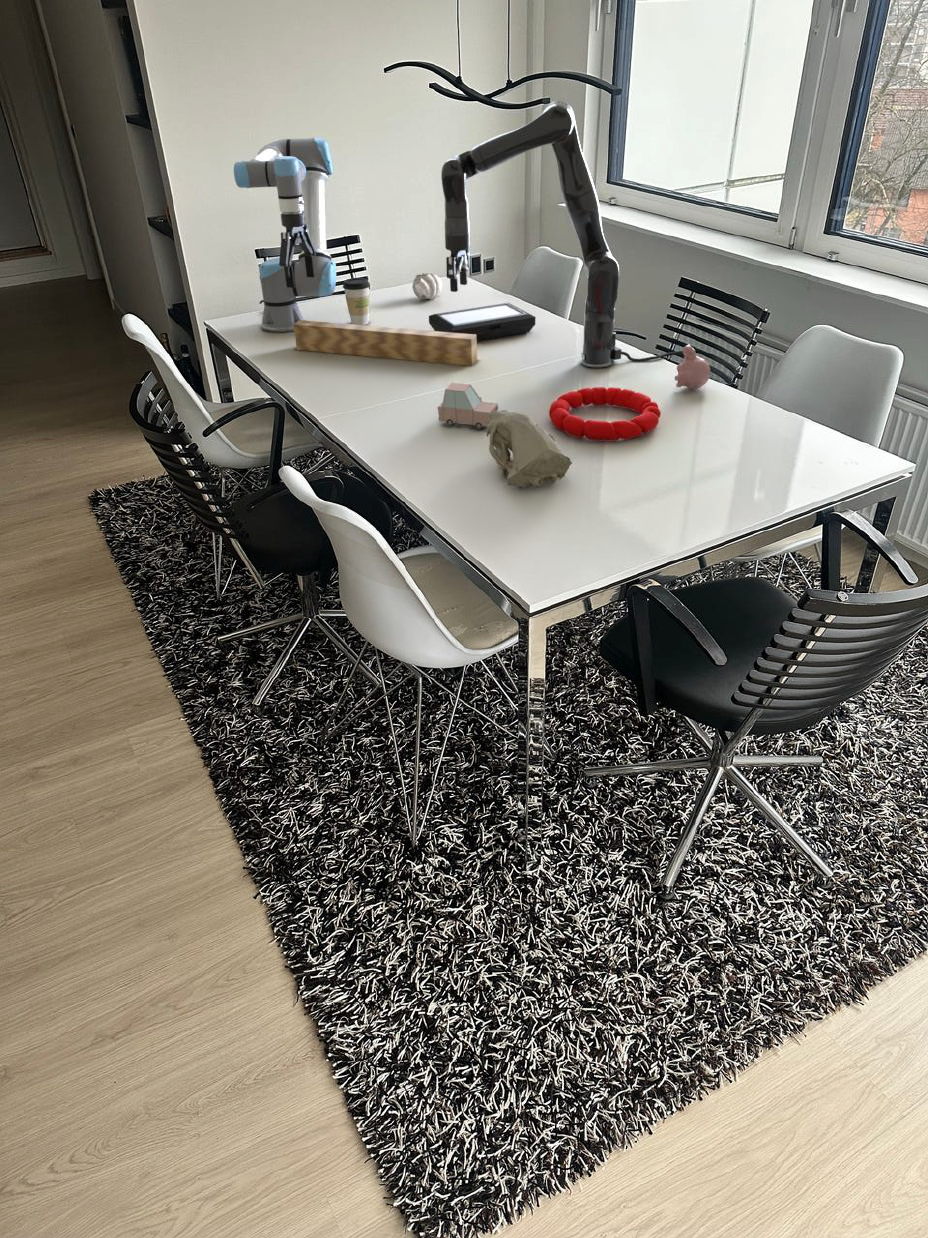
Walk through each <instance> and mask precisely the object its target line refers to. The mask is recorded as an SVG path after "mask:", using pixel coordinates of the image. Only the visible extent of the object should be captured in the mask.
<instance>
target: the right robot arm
mask: <svg viewBox="0 0 928 1238" xmlns="http://www.w3.org/2000/svg"><path fill="white" fill-rule="evenodd" d="M548 145H551V147H552V150H553V152H554V155H555V159H556V164H557V169H558V171H557V172H558V177H559V185H560V190H561V196H562V198H563V203H564V206H565V208H566V211H567V214H568V218H569V220H570V222H571V226H572V228H573V230H574V232H575V234H576V237H577V239H578V242H579V247H580V251H581V255H582V261H583V265H584V271H585V275H586V277H587V291H586V298H585V300H584V314H583V315H584V317H583V337H582V338H583V339H582V352H581V357H580V358H581V364H582V366H584V367H588V368H590V369H591V368H592V369H603V368H607V367H609V366H611V365H613V364H615V361H617V360H621V359H622V355H623V356H625V357H626V358H627V359H628V360H629V361H630V362H635V363H639V362H646V361H653V360H658V359H661V358H664V357H670V356H671V357H672V356H677V355H684V353H683V350H678V351H672V352H665V353H662V354H658V355H654V356H647V357H643V358H635V357H631V355H630V354H629V353H628V352H626V351H622V348H620V347H617V346H616V339H617V333H616V332H615V331H614V329H615V328H614V326H615V313H616V312H615V311H616V303H617V300H618V294H619V293H618V292H619V284H620V283H619V281H620V267H619V264H618V262H617V260H616V259H615V257H614V256H613V255H612V253H611V251H610V249H609V246H608V243H607V241H606V239H605V236H604V233H603V225H602V215H601V209H600V203H599V199H598V195H597V191H596V188H595V184H594V182H593V179H592V175H591V172H590V170H589V167H588V164H587V162H586V159H585V156H584V154H583V152H582V151H583V150H582V148H581V144H580V139H579V134H578V129H577V124H576V117H575V112H574V110H573V108H572V106H571V105H570V104H569V103H567V102H566V101H564V100H561V99H560V100H559V99H558V100H557V99H556V100H553V101H551V102H550V103H548V104H547V105H546V107H545V108H544V110H543V111H542V113H541V114H540V115H538V116H537V117H536V118H534V119H533V120H531V121H529V122H528V123H527V124H525V125H523V126H521V127H519V128H517V129H514V130H512V131H508V132H505V133H502V134H499V135H496V136H494V137H492V138H490V139H488V140H485V141H484V142H482V143H479V144H477V145H476V146H474V147H473V148H472V149H468V150H465V151H464V152H461V153H458V154H456V155H454V156H452V157H450V158H449V159H447V160H446V161H445V162H444V163H443V164H442V167H441V172H440V173H441V175H440V177H441V186H442V192H443V193H442V194H443V197H444V244H445V245H444V246H445V247H444V248H445V249H446V251H449V252H450V256H446V259H445V260H446V261H445V263H446V264H445V265H446V267H445V268H446V278H447V279H449V286H450V287H449V288H450V289H449V290H450V292H452V293H457V292H459V284H460V286H466V285H468V272H469V269H470V268H471V255H470V254H471V253H470V248H471V223H470V213H469V211H470V210H469V198H468V195H467V194H466V193H467V192H466V181H467V180H468V179H470V178H473V177H474V176H476V175H479V173H485V172H487V171H489V170H491V169H494V168H496V167H498V166H500V165H501V164H504V163H506V162H508V161H510V160H512V159H514V158H516V157H518V156H521V155H522V154H525V153H527V152H529V151H532V150H535V149H537V148H541V147H545V146H548ZM458 277H459V279H458Z"/></svg>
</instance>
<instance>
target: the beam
mask: <svg viewBox="0 0 928 1238" xmlns="http://www.w3.org/2000/svg"><path fill="white" fill-rule="evenodd" d="M293 325H294V330H293V331H294V340H295V346H296V350H297V351H298V350H299V351H309V352H319V353H328V354H329V353H330V354H340V355H352V356H363V357H372V358H373V357H374V358H384V359H394V360H404V361H405V360H406V361H415V362H427V363H437V364H448V365H459V366H468V367H469V366H470V367H472V366H474V365H475V364H476V362H478V345H477V342H478V340H477V335H475V334H463V333H451V332H439V331H435V330H425V329H413V328H401V327H389V326H388V327H387V326H378V325H367V324H366V325H353V324H352V323H341V322H328V321H315V320H305V319H304V320H300V321H298V322H296V323H295V324H293Z"/></svg>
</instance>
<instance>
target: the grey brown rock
mask: <svg viewBox="0 0 928 1238" xmlns="http://www.w3.org/2000/svg"><path fill="white" fill-rule="evenodd" d="M485 436H486V438H487V437H489V438H488V440H489V444H488V445H489V446H488V450H489V454H490V456H491V457H492V458H493V459H494V460H495V462H496V464H497V466H499V468H500V470H501V471H502V472H501V478H502V479H507V480H506V484H507V486H517V487H518V486H519V488H523V489H524V488H526V486H527V485H529V483H531V485H533V486H534V487H536V488H540V485H541V484H542V482H544V483H549V484H550V485H553V484H555V483H556V482H557V480H561V479H563V478H565V476H566V474H567V472H568V471H569V469H570V467H571V466H572V464H573V462H572V461H571V458H570V457H568V456H567V455H565V453H564V451H562V449H561V448H560V446H559V444H557V443H556V439H555V438H554V436H553V435H551V434H550V433H548V432H547V431H546V430H545V429H544V428H542V427H541V426H539V425H538V424H537V423H536V424H535V422H534V421H533V419H532V418H531V417H530V416H529V415H527V414H524V413H519V412H515V411H509V410H507V409H502V410H500V411H499V410H497V411H496V412H492V413H491V414H490V422H488V423H487V427H486V435H485ZM511 453H512V454H511ZM511 455H512V457H513V458H512V460H511ZM507 474H508V475H507Z"/></svg>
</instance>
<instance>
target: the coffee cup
mask: <svg viewBox="0 0 928 1238" xmlns="http://www.w3.org/2000/svg"><path fill="white" fill-rule="evenodd" d="M370 287H371V283H370V282H369V279H367V278H365V277H351V278H347V279H345V280H344V281H343V285H342V288H343V290H344V297H345V301H346V305H347V310H348V314H349V318H350V324H353V325H366V326H367V325H368V324H369V317H370V316H369V313H370Z"/></svg>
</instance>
